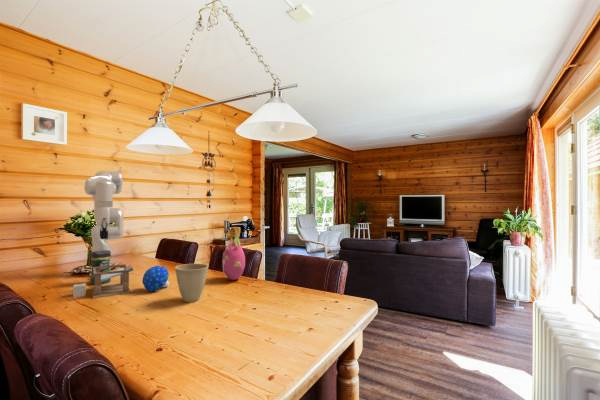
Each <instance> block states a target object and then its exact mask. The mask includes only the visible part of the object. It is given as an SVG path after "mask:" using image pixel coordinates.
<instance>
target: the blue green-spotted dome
mask: <svg viewBox="0 0 600 400" xmlns="http://www.w3.org/2000/svg"><path fill="white" fill-rule="evenodd" d="M169 274H170V273H169V270H168V269H167V267H166V266H161V265H154V266H151V267H149V268H148V269H147V270H145V272H144V274H143V277H142V280H141V281H142V285H143V286H144V289H146V291H148V292H157V291H160V290H161V289H162V288H168V287H169V286H170V282H169Z"/></svg>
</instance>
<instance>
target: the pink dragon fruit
mask: <svg viewBox="0 0 600 400" xmlns="http://www.w3.org/2000/svg"><path fill="white" fill-rule="evenodd" d="M221 262H222V272H223V278H226V277H227V278H228V279H229V280H231V281H236V280H238V279H239V278H241V276H242V275H243V273H244V270H245V267H246V256H245V252H244V250H243V248H242V246H241V243H240V237H239V232H238V229H236V230H235V235H234V239H233V237H230V240H229V245H226V246H225V250H224V251H223V253H222V261H221Z"/></svg>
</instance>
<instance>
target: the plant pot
mask: <svg viewBox="0 0 600 400" xmlns="http://www.w3.org/2000/svg"><path fill="white" fill-rule="evenodd" d="M208 269H209V265H208V264H206V263H205V264H204V263H186V264H181V265H180V264H178V265H176V266H175V276H176V281H177V286H178V290H179V292H180V296H181V298H182V301H183V302H186V303H194V302H198V301H199V300H200V298H201V296H202V293H203V292H204V291H203V290H204V287H205V285H206V280H207V275H208Z"/></svg>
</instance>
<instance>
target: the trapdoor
mask: <svg viewBox="0 0 600 400" xmlns="http://www.w3.org/2000/svg"><path fill="white" fill-rule="evenodd" d="M125 269H129V273H130V272H132V271H134V269H133V266H132V265H131V264H129V265H126V267H125V268H124V267H123V268H120V267H119V268H116V269H115V270H113V271H119V270H125ZM122 274H123V273H114V274H105V275H101V282H102V281H105V280H108V279H113V278H116V277H120V275H122Z"/></svg>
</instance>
